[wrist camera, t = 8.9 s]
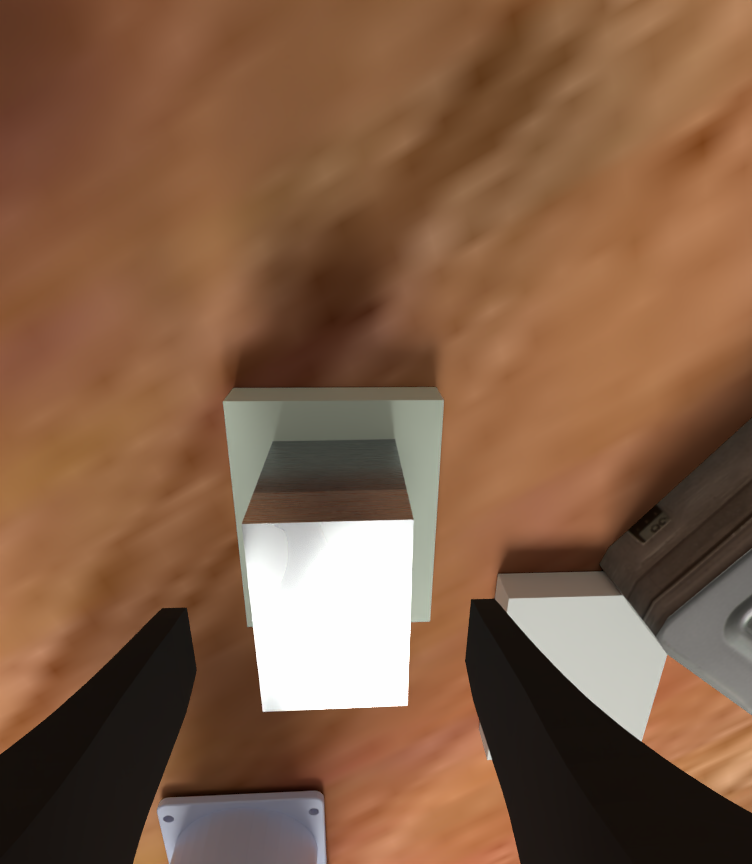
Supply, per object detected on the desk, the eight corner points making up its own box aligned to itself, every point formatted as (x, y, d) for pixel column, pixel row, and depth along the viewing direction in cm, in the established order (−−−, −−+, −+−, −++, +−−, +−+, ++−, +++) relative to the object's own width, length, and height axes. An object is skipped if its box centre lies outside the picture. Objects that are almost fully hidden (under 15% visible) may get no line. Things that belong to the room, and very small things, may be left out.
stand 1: (424, 595, 20) (430, 621, 19) (254, 599, 20) (247, 626, 19) (436, 386, 17) (444, 399, 16) (233, 387, 17) (222, 401, 15)
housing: (392, 587, 18) (407, 705, 14) (285, 591, 18) (263, 711, 14) (395, 438, 16) (413, 519, 12) (272, 441, 16) (241, 524, 11)
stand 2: (621, 723, 24) (638, 753, 23) (479, 729, 24) (487, 760, 22) (662, 569, 21) (685, 593, 19) (497, 573, 20) (508, 598, 19)
